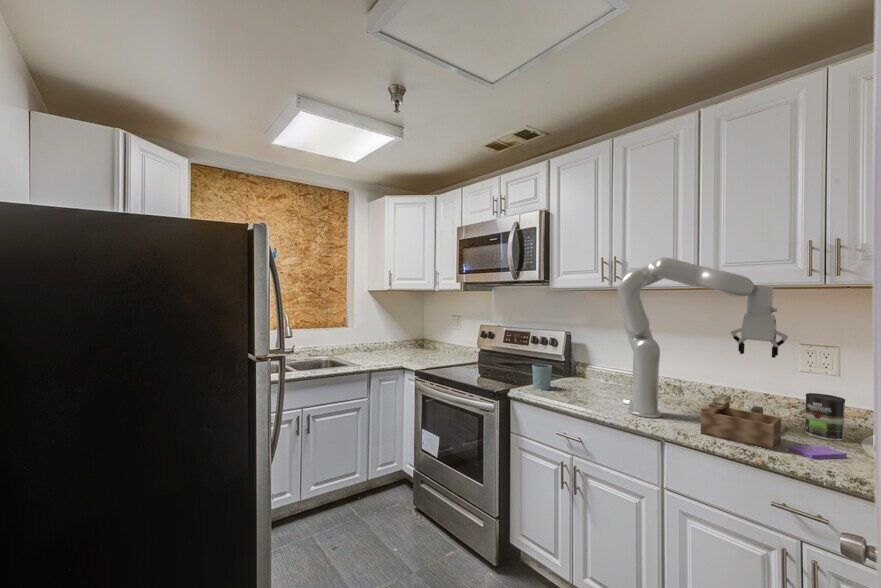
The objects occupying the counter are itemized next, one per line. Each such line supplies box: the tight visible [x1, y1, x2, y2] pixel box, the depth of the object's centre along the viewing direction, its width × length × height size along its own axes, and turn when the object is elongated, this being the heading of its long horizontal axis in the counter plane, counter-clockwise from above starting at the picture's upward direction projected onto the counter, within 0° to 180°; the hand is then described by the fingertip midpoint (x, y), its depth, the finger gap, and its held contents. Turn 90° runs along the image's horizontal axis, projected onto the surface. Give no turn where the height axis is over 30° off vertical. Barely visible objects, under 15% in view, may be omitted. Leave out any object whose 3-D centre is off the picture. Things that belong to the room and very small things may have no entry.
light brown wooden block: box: [712, 393, 731, 404], centre depth 152 cm, size 4×8×2 cm, turn 132°
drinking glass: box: [531, 363, 553, 391], centre depth 209 cm, size 10×10×12 cm
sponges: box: [788, 445, 848, 460], centre depth 126 cm, size 7×13×2 cm, turn 97°
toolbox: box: [700, 401, 782, 451], centre depth 142 cm, size 20×20×9 cm
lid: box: [750, 405, 788, 435], centre depth 155 cm, size 19×14×7 cm
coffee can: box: [804, 392, 846, 442], centre depth 144 cm, size 10×10×14 cm
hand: (757, 355), depth 154 cm, fingers open, 9 cm apart
